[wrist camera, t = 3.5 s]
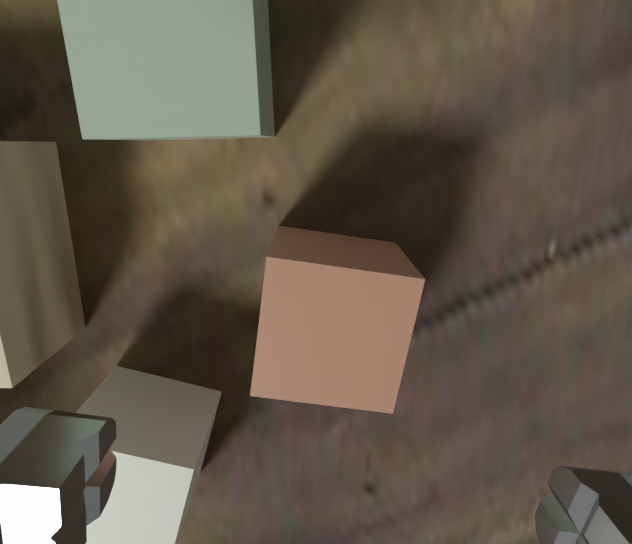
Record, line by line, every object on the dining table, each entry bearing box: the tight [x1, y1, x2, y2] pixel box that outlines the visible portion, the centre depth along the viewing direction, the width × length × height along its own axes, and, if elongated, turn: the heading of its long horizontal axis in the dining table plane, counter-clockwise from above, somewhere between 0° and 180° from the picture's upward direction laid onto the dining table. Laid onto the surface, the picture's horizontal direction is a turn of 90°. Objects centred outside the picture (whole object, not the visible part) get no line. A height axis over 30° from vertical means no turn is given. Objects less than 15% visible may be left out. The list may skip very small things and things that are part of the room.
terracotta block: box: [250, 226, 425, 414], centre depth 16 cm, size 5×5×5 cm
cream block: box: [76, 366, 222, 544], centre depth 18 cm, size 5×5×5 cm
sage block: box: [57, 0, 275, 140], centre depth 13 cm, size 5×5×5 cm
